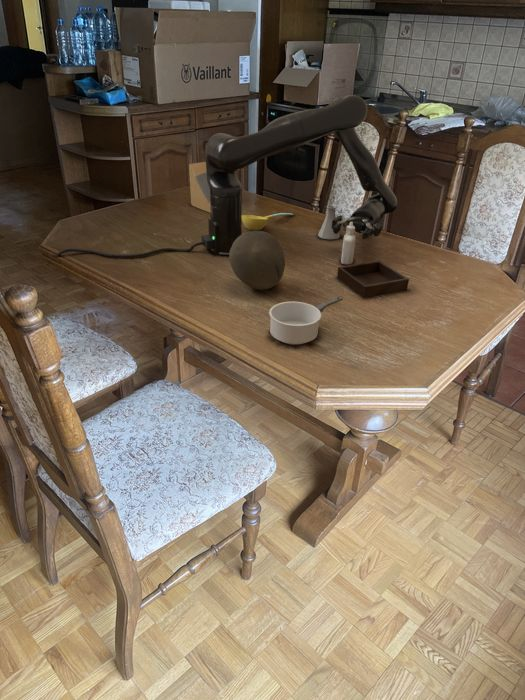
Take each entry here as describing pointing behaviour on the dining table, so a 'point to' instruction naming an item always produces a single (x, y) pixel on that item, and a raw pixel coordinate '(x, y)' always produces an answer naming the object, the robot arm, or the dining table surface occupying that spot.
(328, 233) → the flask
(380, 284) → the tray
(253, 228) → the ladle
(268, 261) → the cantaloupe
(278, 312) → the saucepan
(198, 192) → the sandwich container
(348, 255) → the eye dropper bottle
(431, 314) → the dining table surface
